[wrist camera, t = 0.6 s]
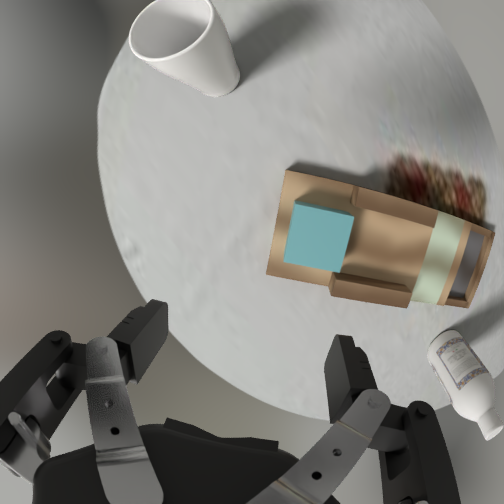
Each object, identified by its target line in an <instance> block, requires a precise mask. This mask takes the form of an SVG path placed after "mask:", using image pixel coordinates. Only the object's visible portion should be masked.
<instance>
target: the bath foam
mask: <svg viewBox="0 0 504 504" xmlns="http://www.w3.org/2000/svg"><path fill="white" fill-rule="evenodd" d="M427 358H428V361H429V363H430V364H431V366H432V368H433V370H434V372H435V374H436V375H437V377H438V379H439V381H440V383H441V385H442V386H443V388H444V390H445V392H446V394H447V396H448V398H449V400H450V402H451V404H452V406H453V407H454V409H455V410H456V412H457V413H458V414H460V415H461V416H462V417H465V418H466V419H469V420H472V421H475V422H477V423H478V425H479V427H480V429H481V431H482V433H483V435H484V437H485V439H486V440H490V439H492V438H493V437H494V436H496V435H497V434H498V433H499V432H500V431H501V430H502V428H503V427H504V424H503V422H502V420H501V419H500V417H499V415H498V413H497V411H496V410H495V408H494V405H495V384H494V381H493V378H492V376H491V374H490V373H489V371H488V370H487V369H486V367H485V366H484V364H483V363H482V362H481V360H480V359H479V358H478V356H477V355H476V354H475V352H474V351H473V350H472V349H471V347H470V346H469V345H468V343H467V342H466V341H465V340H464V339H463V337H462V336H461V335H460V334H459V333H458V332H457V331H455V330H449V331H446V332H443V333H442V334H440V335H439V336H438V337H437V338H436V339H435V340H434V341H433V342H432V343H431V345H430V347H429V349H428V353H427Z"/></svg>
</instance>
